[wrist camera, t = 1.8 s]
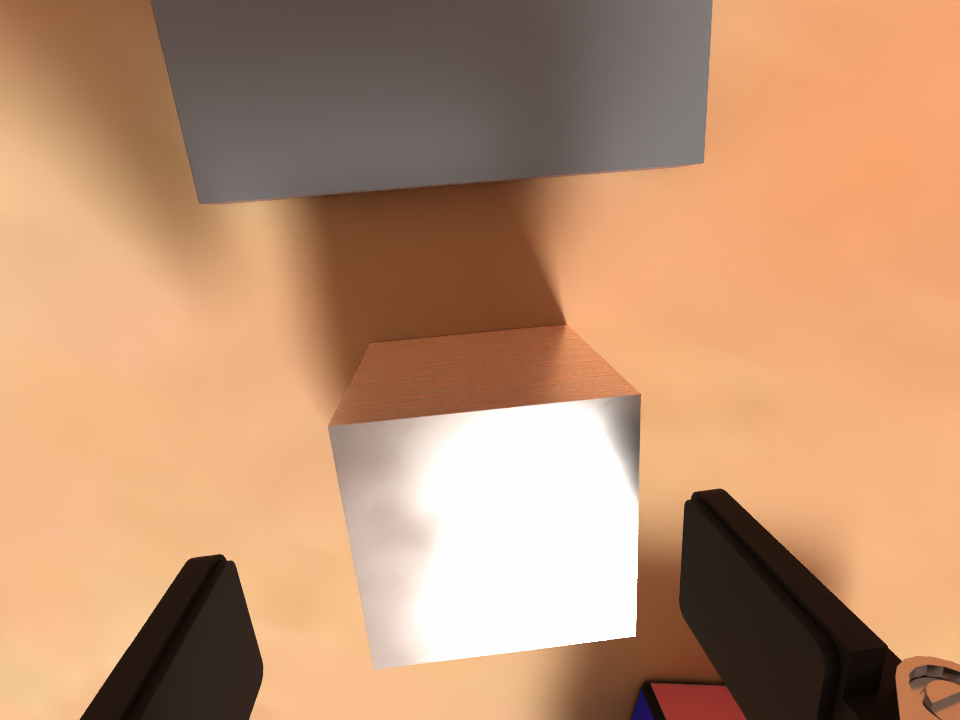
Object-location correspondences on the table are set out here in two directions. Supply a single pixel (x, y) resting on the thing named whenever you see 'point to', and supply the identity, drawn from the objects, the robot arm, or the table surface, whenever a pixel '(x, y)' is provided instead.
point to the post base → (431, 91)
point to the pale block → (489, 494)
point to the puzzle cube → (686, 702)
